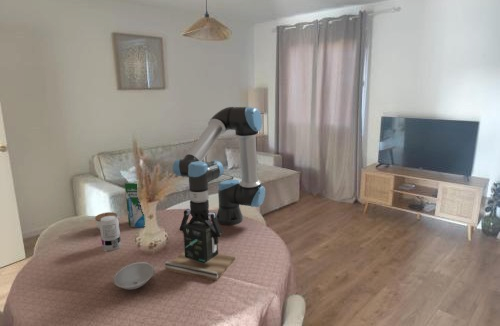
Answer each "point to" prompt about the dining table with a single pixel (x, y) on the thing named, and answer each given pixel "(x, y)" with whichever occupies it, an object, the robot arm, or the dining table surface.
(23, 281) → the dining table surface
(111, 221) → the supplement can
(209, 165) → the robot arm
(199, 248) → the tampon box
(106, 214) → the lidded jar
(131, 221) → the milk carton
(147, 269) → the dish
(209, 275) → the shelf board
